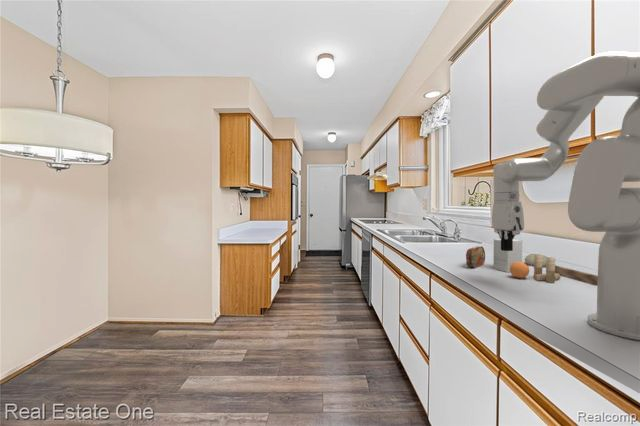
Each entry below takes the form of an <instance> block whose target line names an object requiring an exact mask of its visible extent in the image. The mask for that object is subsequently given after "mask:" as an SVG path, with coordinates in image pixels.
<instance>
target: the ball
mask: <svg viewBox="0 0 640 426" xmlns="http://www.w3.org/2000/svg"><path fill="white" fill-rule="evenodd" d="M509 273H510V274H511V275H512V276H513V277H514V278H517V279H524V278H526V277H527V276H529V273H530V267H529V265H528V264H527V263H526V262H525V263H524V262H523V261H522V262H514V263H513V264H512V265H511V266H510V272H509Z"/></svg>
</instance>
